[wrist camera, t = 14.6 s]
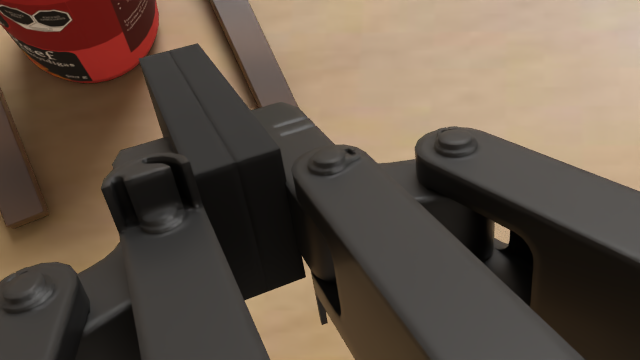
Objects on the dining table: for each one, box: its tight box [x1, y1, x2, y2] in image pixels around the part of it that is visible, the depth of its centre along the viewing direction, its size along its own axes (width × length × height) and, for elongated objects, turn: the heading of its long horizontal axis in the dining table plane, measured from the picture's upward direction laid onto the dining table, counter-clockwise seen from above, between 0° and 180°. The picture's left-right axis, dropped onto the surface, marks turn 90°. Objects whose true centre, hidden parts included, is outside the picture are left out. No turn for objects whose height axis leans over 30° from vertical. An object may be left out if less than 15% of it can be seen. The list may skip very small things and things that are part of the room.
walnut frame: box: [0, 0, 299, 229], centre depth 34 cm, size 17×17×1 cm
